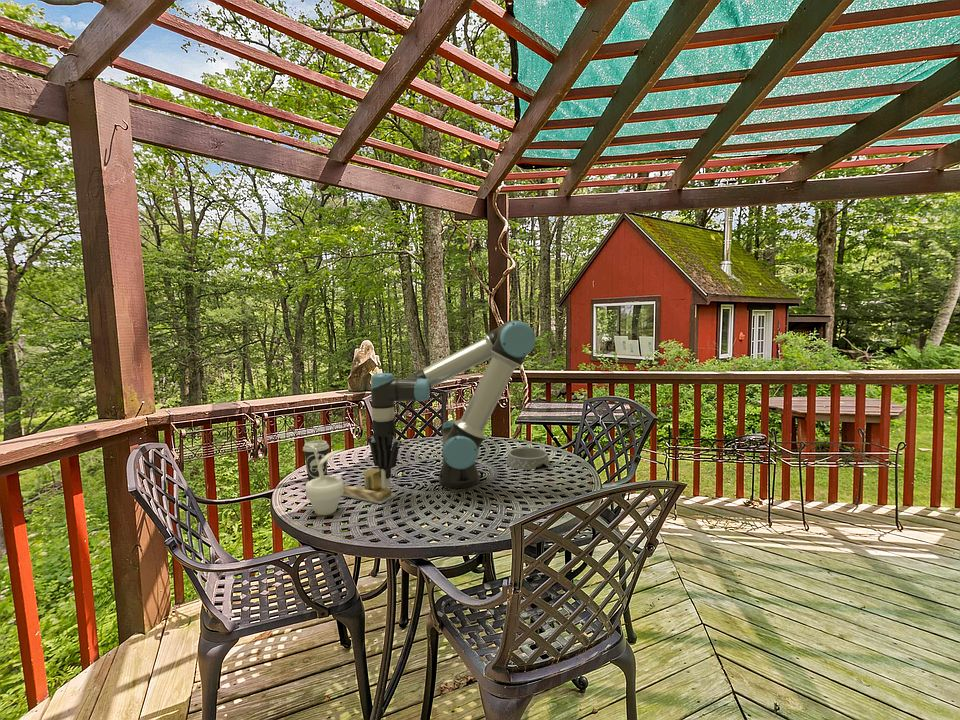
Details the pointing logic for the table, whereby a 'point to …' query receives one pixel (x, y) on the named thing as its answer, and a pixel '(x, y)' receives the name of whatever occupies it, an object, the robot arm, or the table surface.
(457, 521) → the table surface
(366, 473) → the sliding head
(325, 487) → the potted plant
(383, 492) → the beige flat bent piece
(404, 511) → the table surface
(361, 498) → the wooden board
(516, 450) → the dog bowl
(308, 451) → the coffee cup
